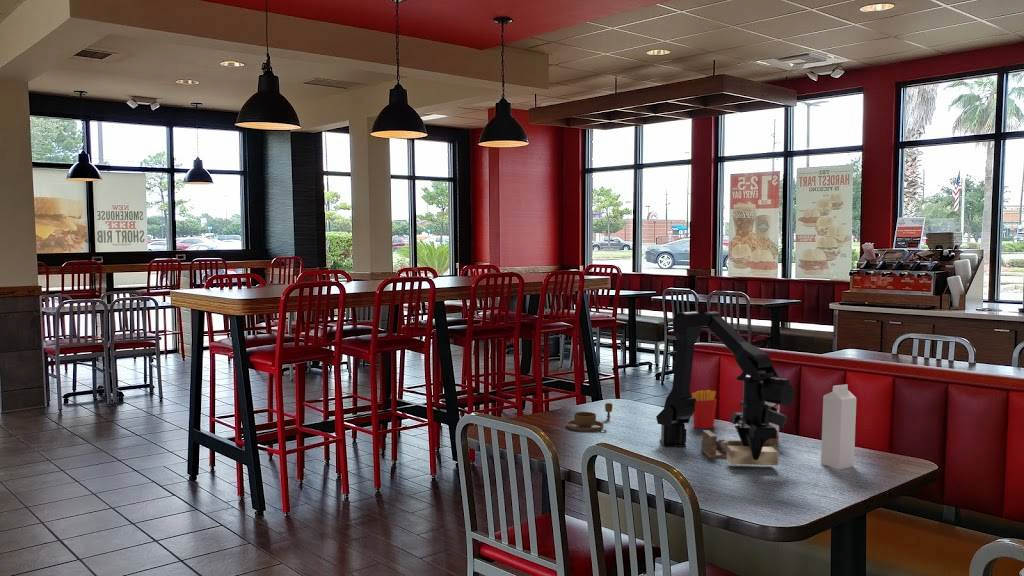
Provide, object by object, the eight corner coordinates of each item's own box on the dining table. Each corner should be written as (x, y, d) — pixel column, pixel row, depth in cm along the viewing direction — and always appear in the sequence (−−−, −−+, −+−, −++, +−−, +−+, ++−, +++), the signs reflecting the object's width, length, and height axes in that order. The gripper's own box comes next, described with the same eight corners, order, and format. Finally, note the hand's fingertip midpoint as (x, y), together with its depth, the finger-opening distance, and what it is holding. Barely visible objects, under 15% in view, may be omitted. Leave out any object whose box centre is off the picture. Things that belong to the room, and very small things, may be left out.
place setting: (555, 424, 261) (556, 406, 261) (609, 419, 269) (609, 402, 269) (580, 436, 245) (581, 417, 245) (636, 431, 253) (637, 413, 253)
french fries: (710, 424, 262) (711, 388, 261) (717, 427, 258) (718, 390, 257) (688, 426, 259) (689, 389, 258) (695, 429, 255) (696, 391, 254)
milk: (853, 467, 214) (858, 386, 213) (838, 470, 211) (842, 387, 210) (834, 461, 219) (838, 382, 218) (819, 464, 216) (823, 383, 215)
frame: (709, 457, 221) (710, 436, 221) (701, 450, 229) (701, 429, 229) (776, 457, 222) (777, 436, 222) (765, 450, 230) (766, 429, 230)
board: (731, 464, 210) (731, 450, 210) (726, 458, 215) (727, 445, 215) (777, 465, 210) (777, 451, 210) (771, 460, 215) (772, 446, 214)
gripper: (798, 406, 203) (796, 467, 204) (770, 392, 221) (768, 447, 222) (755, 406, 202) (753, 467, 203) (730, 392, 221) (729, 447, 222)
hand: (752, 456), depth 212 cm, fingers closed on board, 5 cm apart
